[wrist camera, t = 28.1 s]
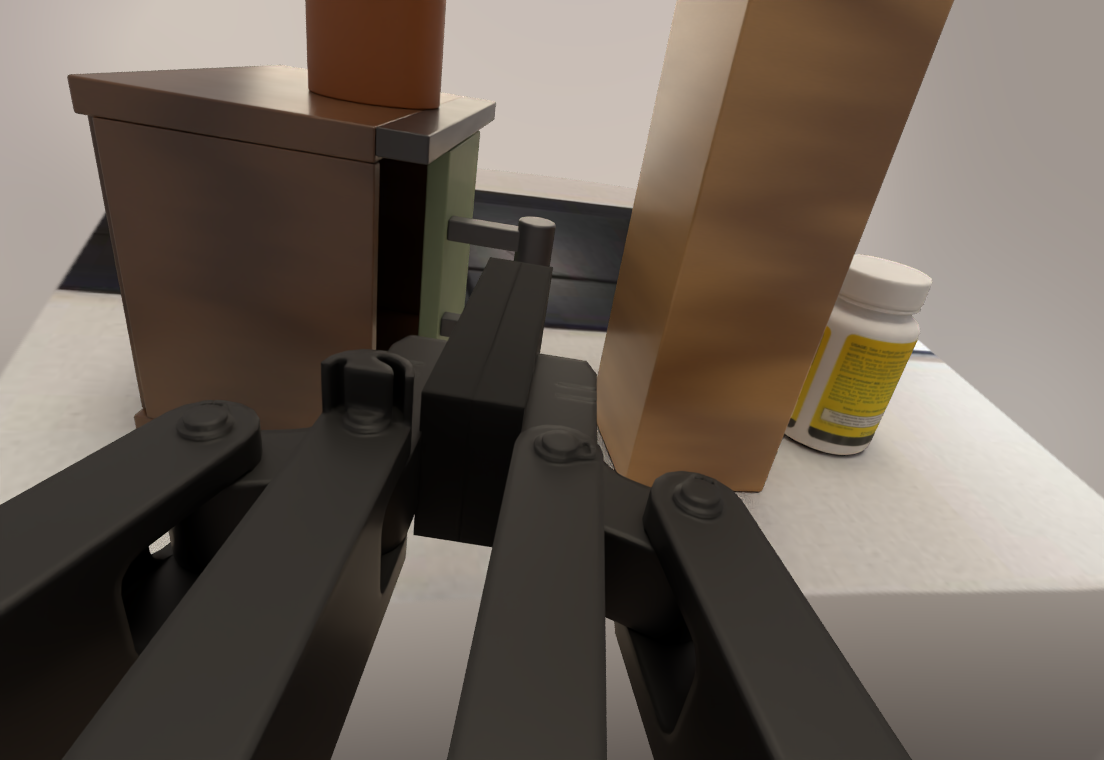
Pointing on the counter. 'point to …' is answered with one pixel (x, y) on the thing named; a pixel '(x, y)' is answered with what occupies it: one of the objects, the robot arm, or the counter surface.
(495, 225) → the sliding door
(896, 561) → the counter surface
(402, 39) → the amber bottle
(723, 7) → the stand
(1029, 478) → the counter surface
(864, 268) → the supplement bottle
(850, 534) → the counter surface
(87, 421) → the counter surface
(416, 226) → the cabinet
